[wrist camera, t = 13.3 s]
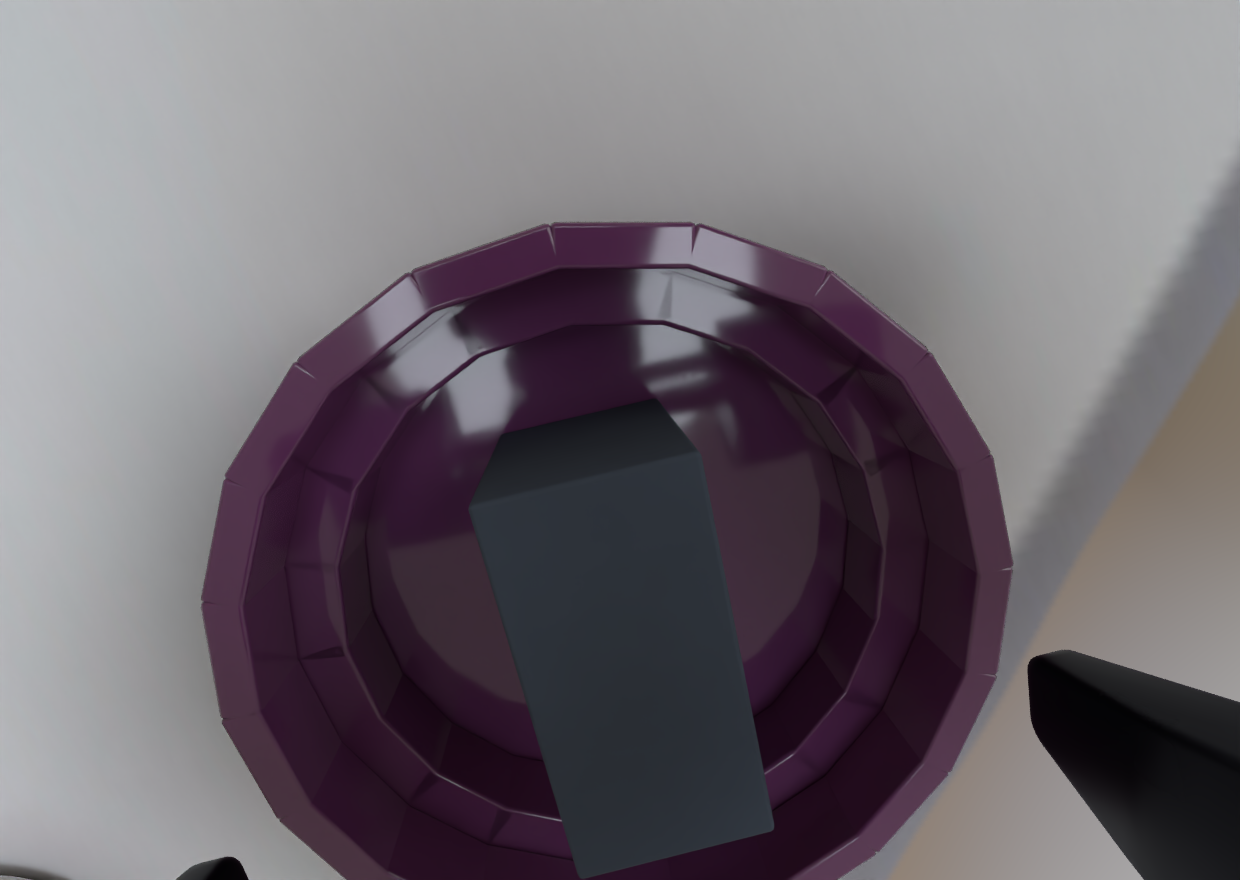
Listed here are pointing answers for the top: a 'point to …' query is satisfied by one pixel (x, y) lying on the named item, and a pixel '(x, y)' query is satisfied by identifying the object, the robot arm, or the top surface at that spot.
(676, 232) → the bowl
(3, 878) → the pill bottle
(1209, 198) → the top surface
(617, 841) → the eraser
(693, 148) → the top surface
